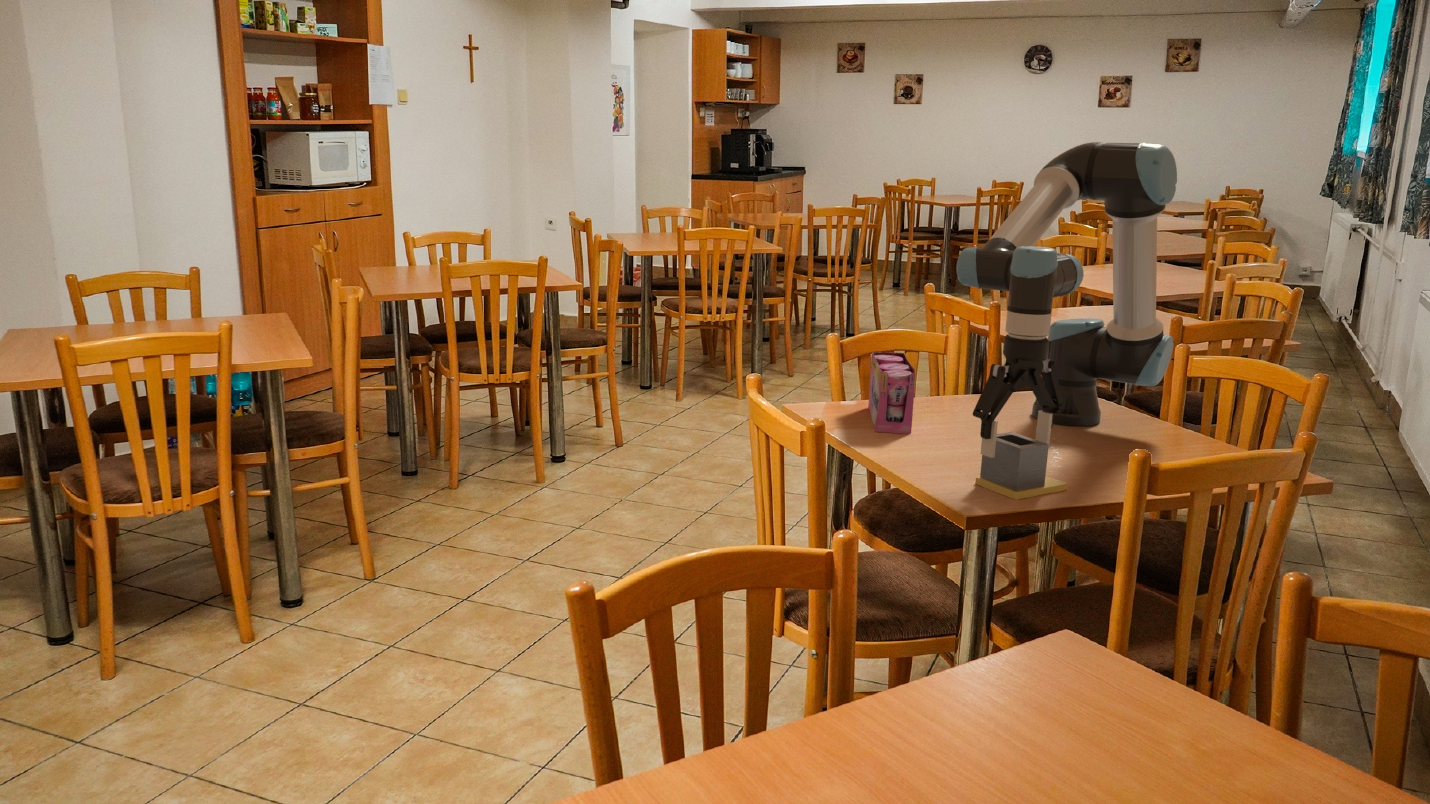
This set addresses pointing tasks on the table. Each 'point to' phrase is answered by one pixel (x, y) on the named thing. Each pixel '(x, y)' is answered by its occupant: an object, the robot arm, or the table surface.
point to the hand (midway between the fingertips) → (1015, 451)
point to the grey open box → (1016, 462)
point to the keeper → (1049, 487)
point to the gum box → (891, 392)
